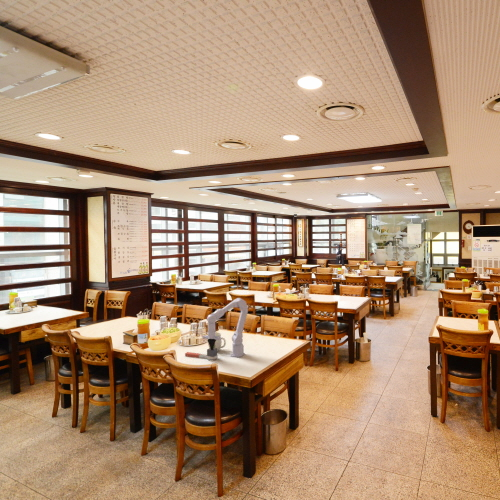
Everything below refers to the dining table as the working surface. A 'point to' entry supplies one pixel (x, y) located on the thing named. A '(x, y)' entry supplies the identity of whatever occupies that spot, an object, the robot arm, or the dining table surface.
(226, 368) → the dining table surface
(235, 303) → the robot arm
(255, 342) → the dining table surface
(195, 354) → the ratchet
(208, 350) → the socket
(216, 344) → the pitcher
